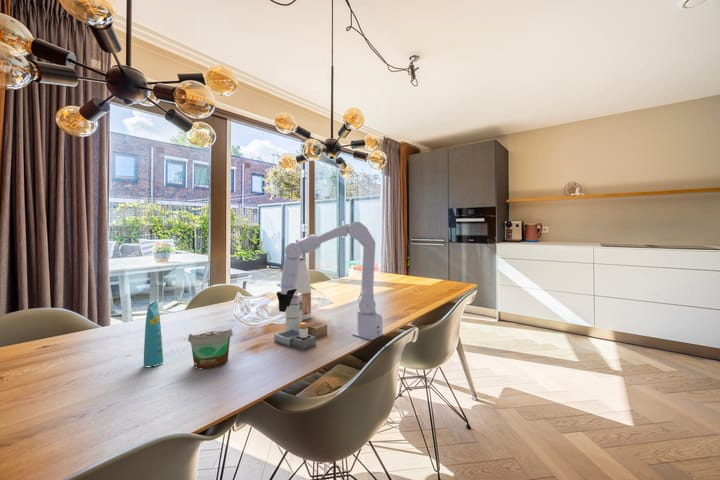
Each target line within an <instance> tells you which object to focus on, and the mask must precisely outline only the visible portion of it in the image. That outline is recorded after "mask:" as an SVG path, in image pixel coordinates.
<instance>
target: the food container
mask: <svg viewBox="0 0 720 480" xmlns="http://www.w3.org/2000/svg"><path fill="white" fill-rule="evenodd" d="M233 334H234V332H233V329H232V327H230V328H229V329H228V330H223V331H208V332H204V333H200V334H195V335H194V334H192V333H189V335H188V338H187V341H188V342H189V343H190V345H191V352H192V359H193V366H195V367H197V368H196V369H198V368H202V369H201V370H211V369H210V368H212V369H216V368H219V367H221V366H223V365H225V364H226V363H228V361H229V352H230V341H231V337H232V336H233ZM195 367H194V368H195ZM215 367H216V368H215Z"/></svg>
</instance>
